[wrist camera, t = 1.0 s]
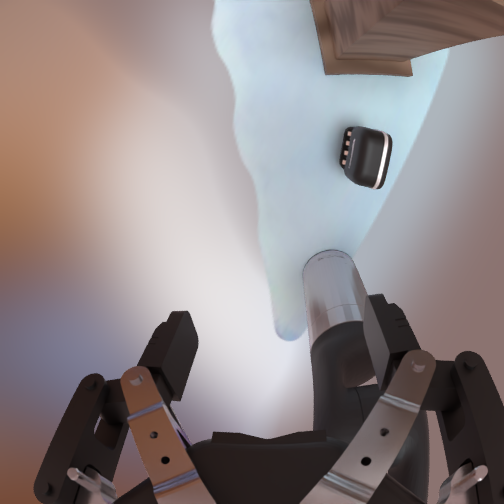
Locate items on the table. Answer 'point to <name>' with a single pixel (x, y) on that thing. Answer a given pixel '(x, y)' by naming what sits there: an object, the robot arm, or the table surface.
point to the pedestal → (398, 31)
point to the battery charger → (366, 156)
